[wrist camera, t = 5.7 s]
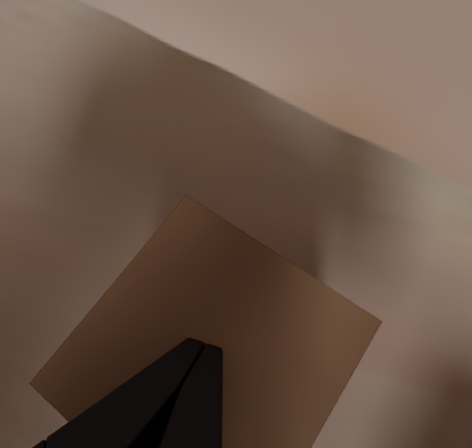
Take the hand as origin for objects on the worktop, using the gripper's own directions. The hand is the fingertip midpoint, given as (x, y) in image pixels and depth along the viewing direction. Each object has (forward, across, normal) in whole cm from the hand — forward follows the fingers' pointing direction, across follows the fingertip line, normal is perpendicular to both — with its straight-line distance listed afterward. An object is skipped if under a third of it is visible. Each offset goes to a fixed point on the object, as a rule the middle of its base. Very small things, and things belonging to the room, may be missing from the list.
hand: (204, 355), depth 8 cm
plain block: (+6, 0, +7) cm, 9 cm away
